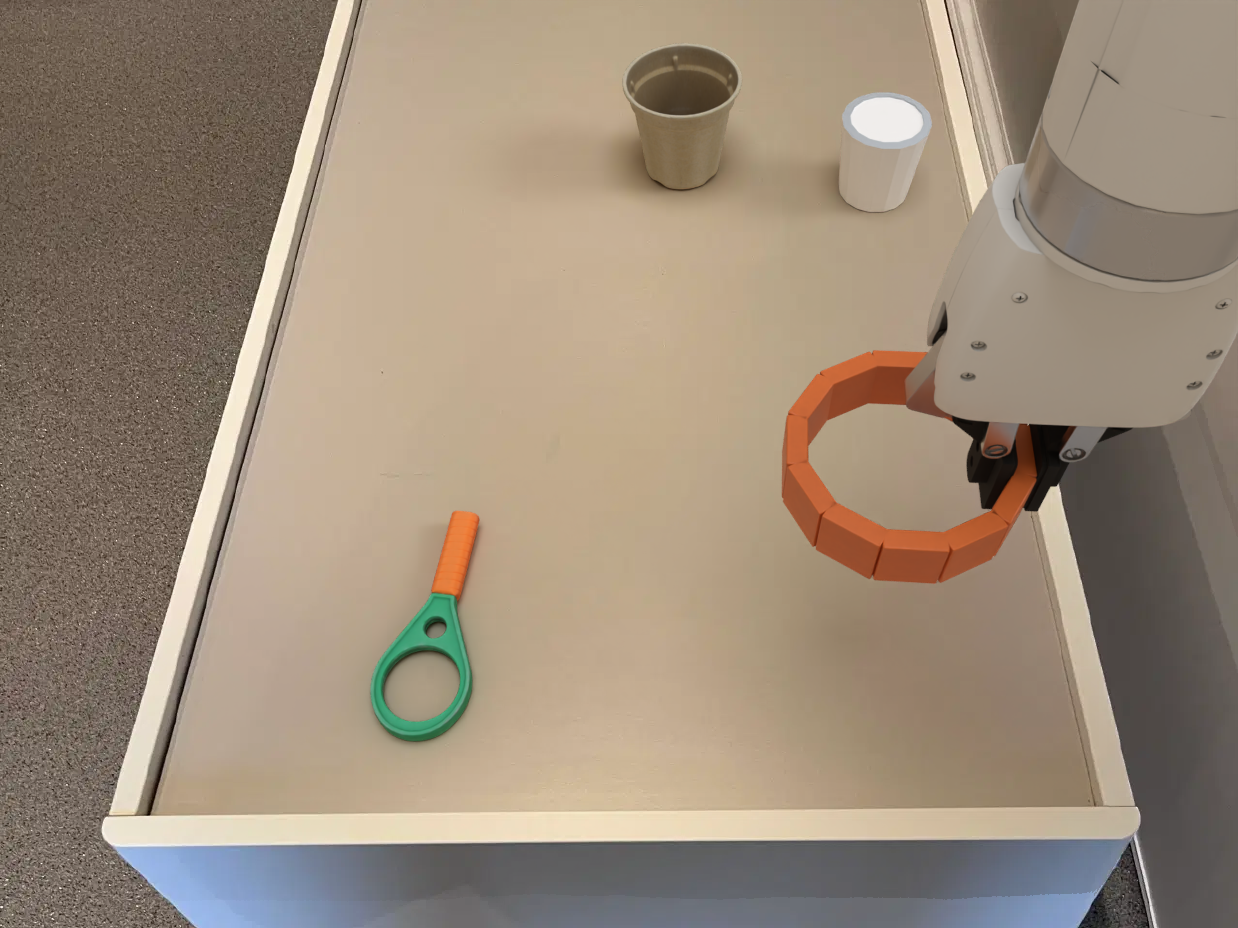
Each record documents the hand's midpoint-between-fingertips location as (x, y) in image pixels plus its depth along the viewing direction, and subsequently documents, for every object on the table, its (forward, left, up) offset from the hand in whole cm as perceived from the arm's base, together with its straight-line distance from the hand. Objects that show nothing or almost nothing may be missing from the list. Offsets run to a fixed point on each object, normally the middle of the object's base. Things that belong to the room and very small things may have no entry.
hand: (1005, 483), depth 49 cm
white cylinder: (+2, -41, -18) cm, 44 cm away
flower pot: (+18, -43, -18) cm, 50 cm away
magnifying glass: (+30, +1, -18) cm, 35 cm away
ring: (+5, 0, 0) cm, 5 cm away
